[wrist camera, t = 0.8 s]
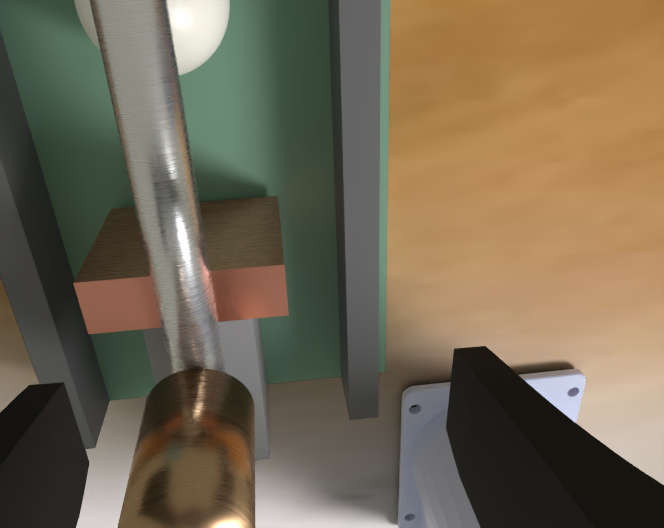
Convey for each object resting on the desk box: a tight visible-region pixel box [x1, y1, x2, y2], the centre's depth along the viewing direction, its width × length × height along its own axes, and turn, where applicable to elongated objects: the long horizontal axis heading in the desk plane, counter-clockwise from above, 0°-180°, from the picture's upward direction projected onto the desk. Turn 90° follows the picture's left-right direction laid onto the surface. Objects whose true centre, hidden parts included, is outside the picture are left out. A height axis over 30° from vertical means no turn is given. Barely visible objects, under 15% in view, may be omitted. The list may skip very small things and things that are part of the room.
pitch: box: [0, 0, 390, 460], centre depth 15 cm, size 24×12×5 cm, turn 2°
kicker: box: [73, 0, 289, 528], centre depth 13 cm, size 22×5×9 cm, turn 2°
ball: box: [74, 0, 230, 75], centre depth 14 cm, size 4×4×4 cm
